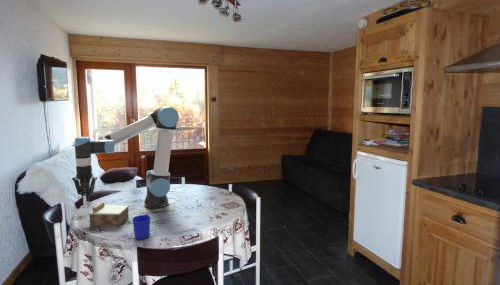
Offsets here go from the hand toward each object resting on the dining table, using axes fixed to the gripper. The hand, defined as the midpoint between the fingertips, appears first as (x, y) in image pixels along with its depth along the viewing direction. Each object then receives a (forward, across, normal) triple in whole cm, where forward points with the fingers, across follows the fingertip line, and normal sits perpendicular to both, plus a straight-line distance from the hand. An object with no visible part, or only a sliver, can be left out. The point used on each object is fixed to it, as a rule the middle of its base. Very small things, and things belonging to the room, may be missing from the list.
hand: (86, 206), depth 168 cm
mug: (+9, -38, +17) cm, 42 cm away
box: (+8, -13, 0) cm, 15 cm away
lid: (+2, -13, 0) cm, 13 cm away
